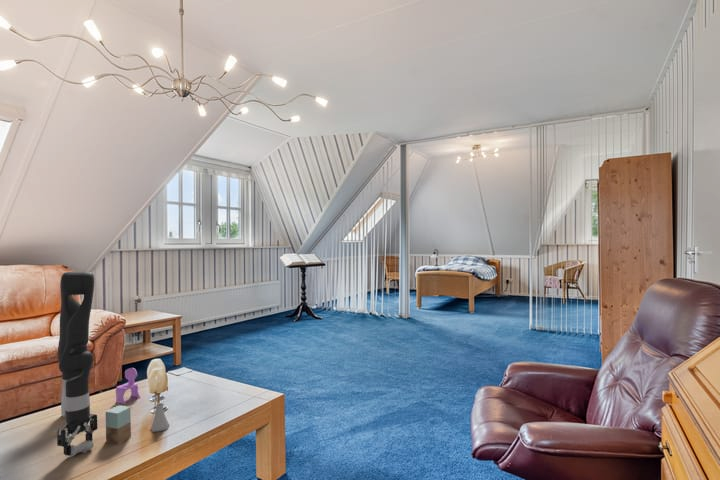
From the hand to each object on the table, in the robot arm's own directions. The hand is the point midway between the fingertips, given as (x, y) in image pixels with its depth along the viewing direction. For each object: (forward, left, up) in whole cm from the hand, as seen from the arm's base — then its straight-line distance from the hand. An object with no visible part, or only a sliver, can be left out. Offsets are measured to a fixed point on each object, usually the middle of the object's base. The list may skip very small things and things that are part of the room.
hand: (78, 449), depth 151 cm
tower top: (+6, +12, +5) cm, 14 cm away
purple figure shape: (-22, +43, -2) cm, 48 cm away
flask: (+15, +24, -2) cm, 28 cm away
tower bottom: (+6, +12, -1) cm, 13 cm away
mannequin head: (+1, 0, -2) cm, 2 cm away
